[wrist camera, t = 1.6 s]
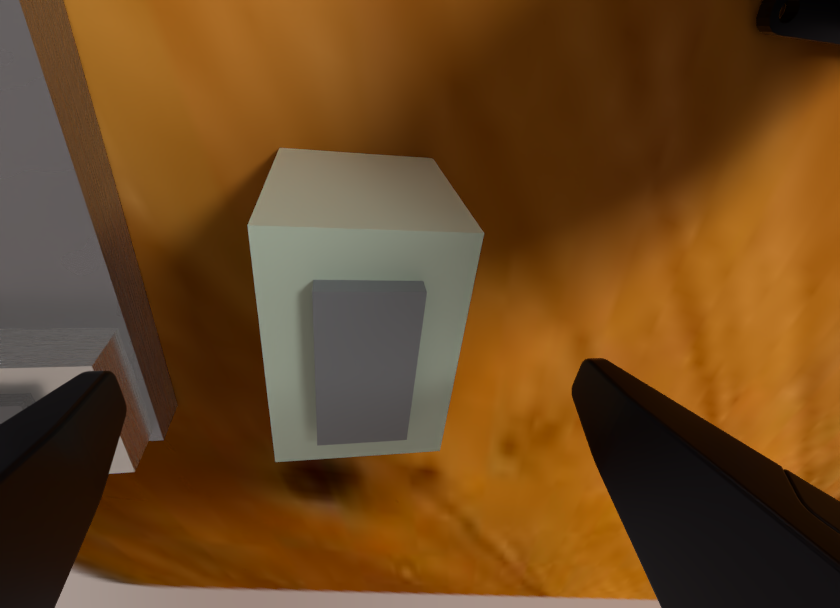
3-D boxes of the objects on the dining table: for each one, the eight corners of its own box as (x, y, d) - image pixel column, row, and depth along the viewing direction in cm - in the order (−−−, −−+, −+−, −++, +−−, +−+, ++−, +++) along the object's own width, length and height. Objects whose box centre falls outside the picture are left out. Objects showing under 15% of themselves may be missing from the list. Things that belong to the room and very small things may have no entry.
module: (432, 157, 12) (490, 242, 7) (410, 331, 15) (442, 464, 11) (279, 146, 11) (242, 235, 7) (292, 333, 14) (273, 476, 10)
